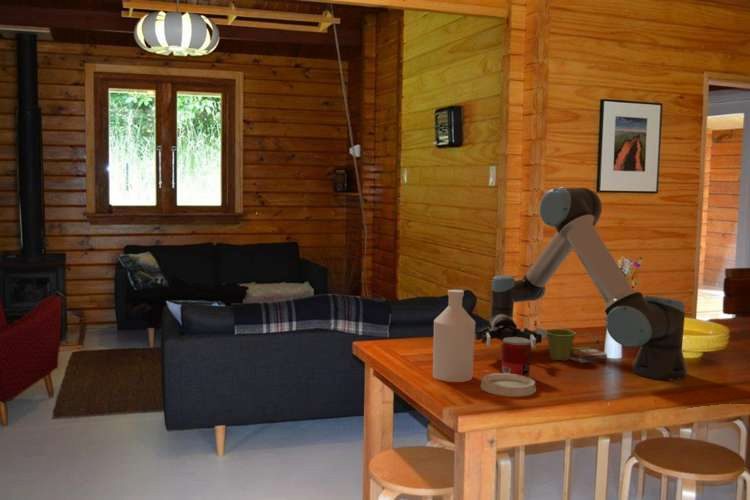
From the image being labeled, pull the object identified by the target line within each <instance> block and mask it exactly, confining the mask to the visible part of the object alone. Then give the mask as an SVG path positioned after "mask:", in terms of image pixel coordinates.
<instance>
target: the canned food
mask: <svg viewBox="0 0 750 500" xmlns="http://www.w3.org/2000/svg"><path fill="white" fill-rule="evenodd" d="M531 348H532V346H531V341H530V340H529V339H526V338H520V337H516V336H515V337H507V338H504V339H503V341H502V352H501V353H502V355H501V373H508V374H518V375H522V376H526V377H529V376H530V366H531ZM529 378H530V377H529Z"/></svg>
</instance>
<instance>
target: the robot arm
mask: <svg viewBox="0 0 750 500" xmlns="http://www.w3.org/2000/svg"><path fill="white" fill-rule="evenodd" d="M602 209H603V206H602V201H601V198H600V197H599V194H597V193H596V192H595V191H594V190H591V189H590V188H585V187H567V188H566V187H558V188H557V187H556V188H555V187H554V188H551V189H550V190H547V192H545V194H543V196H542V198H541V200H540V206H539V216H540V218H541V220H542V222H543V223H544V224H546V225H547V226H549V227H553V228H555V230H556V233H555V234H554V235H553V237H552V238H551V239H550V241H549V242H548V243H547V245H546V247H545V248H544V249H543V250H542V252H541V253H540V254H539V256H538V257H537V259H535V261H534V263H533V264H532V266H530V269H529V270H528V271H527V272H526V274H525V275H524V276H523V278H521V279H518V280H517V279H515V277H514V276H511V275H504V274H503V275H499V274H498V275H495V276H494V277H493V278H492V284H491V302H490V303H491V304H490V314H489V325H490V327H489V326H485V327H483V328H481V329H479V330H477V331H475V340H476V341H479V340H481V343H482V344H486V346H487V347H491V340H493V339H497V340H499V341H501V342H503V339H504V338H507V337H520V338H526V339H529V340H530V341H531V348H532V349H536V348H537V347H536V345H537V344H541V343H542V335H541V334H538V333H536V331H534V330H533V331H532V330H530V329H529V328H526V327H525V328H523V329H522V330H521V328H518V327H517V325H516V323H515V321H514V306H515V303H521V302H528V301H529V302H532V301H536V300H540V299H541V298H543V297H544V295H545V294H546V293H545V292H546V284H547V283H548V282H549V281H550V279H551V278H552V277H553V276H554V275H555V273H556V271H557V270H558V269H559V268H560V267H561V265H562V264H563V262H564V261H565V260H566V259H567V257H568V256H569V255H570V254H571V252H572V251H574V253H575V254H576V255H577V257H578V259H579V261H580V262H581V264H582V265H583V267H584V269H585V270H586V272H587V274H588V276H589V277H590V279H591V280H592V282H593V284H594V286H595V287H596V288H597V290H598V292H599V294H600V296H601V297H602V298H603V301H604V302H605V304H606V306H605V310H604V313H605V314H606V320H605V321H606V324H605V327H606V330H607V333H608V334H609V337H611V339H612V340H613V341H615V342H616V343H618V344H619V345H620V346H624V347H639V346H640V348H639V350H638V352H637V355H636V356H635V359H634V361H633V366H632V372H634V374H637V375H639V376H642V377H647V378H649V377H650V379H655V380H656V379H657V380H664V379H678V380H680V379H679V378H683V379H685V378H684V377H687V376H686V375H687V374H688V372H687V371H688V368H687V365H686V361H685V356H684V354H683V343H684V342H683V341H684V339H683V338H684V327H685V317H686V311H685V310H686V309H685V308H686V305H685V303H684V302H683V301H682V300H678V299H675V298H674V299H673V298H670V297H669V298H668V297H661V296H652V295H645V296H644V295H643V294H642V292H641V291H639V290H635V289H633V288H632V286H631V285H630V283H629V281H628V279H627V278H626V276H625V275H624V273H623V271H622V270H621V268H620V267H619V265H618V263H617V262H616V260H615V259H614V257H613V255H612V254H611V252H610V251H609V249H608V247H607V245H606V244H605V242H604V241H603V239H602V237H601V236H600V234H599V233H598V231H597V230H596V227H595V226H596V225H597V224H598V222H599V220H600V218H601V215H602Z"/></svg>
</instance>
